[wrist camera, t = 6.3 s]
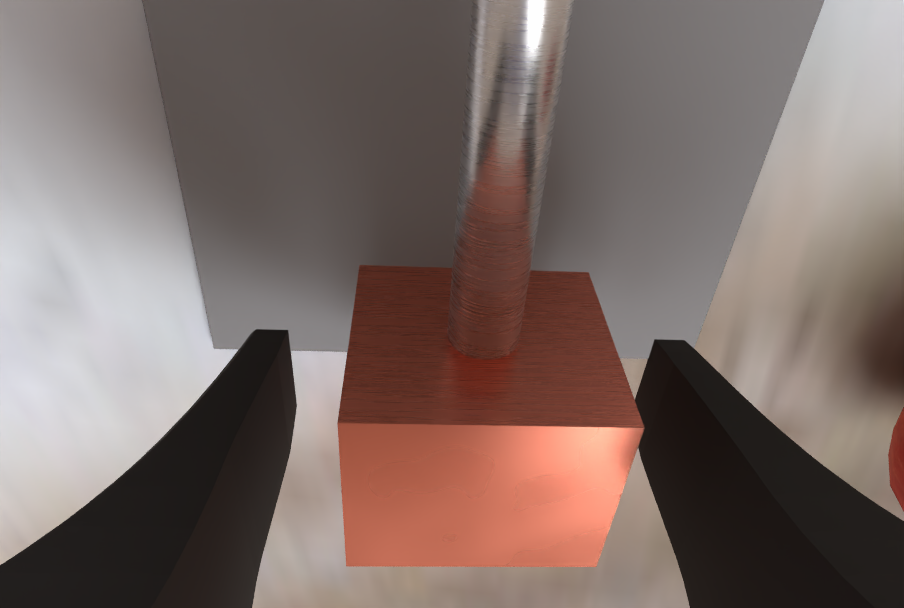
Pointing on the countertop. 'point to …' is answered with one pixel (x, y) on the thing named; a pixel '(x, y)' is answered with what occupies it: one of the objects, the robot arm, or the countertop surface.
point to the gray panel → (439, 150)
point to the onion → (897, 460)
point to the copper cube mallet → (487, 353)
